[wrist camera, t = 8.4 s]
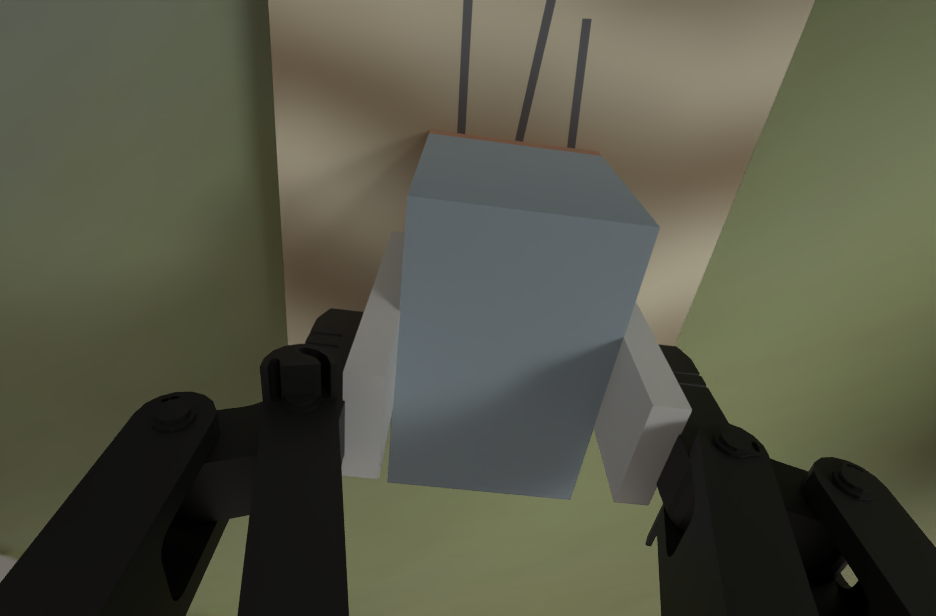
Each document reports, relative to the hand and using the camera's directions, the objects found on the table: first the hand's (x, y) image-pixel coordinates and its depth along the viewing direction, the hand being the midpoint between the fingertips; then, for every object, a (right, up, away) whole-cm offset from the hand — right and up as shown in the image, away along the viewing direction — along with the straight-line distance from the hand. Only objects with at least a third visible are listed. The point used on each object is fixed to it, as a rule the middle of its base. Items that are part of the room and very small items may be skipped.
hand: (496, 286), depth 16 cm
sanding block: (0, +1, +2) cm, 2 cm away
